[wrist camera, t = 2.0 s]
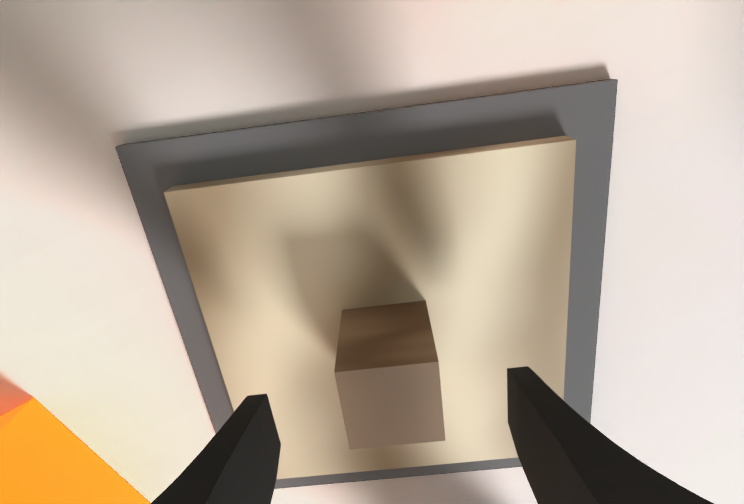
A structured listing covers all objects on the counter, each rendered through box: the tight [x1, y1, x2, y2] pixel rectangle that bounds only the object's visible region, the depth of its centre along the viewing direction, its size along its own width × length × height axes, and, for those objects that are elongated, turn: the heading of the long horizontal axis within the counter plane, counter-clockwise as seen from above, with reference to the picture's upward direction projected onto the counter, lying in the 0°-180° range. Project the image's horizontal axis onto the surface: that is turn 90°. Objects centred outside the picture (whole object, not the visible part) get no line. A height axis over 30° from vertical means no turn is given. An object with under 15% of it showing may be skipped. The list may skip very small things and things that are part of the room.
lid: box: [164, 136, 576, 479], centre depth 16 cm, size 13×13×4 cm
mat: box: [115, 79, 618, 489], centre depth 18 cm, size 16×16×1 cm
